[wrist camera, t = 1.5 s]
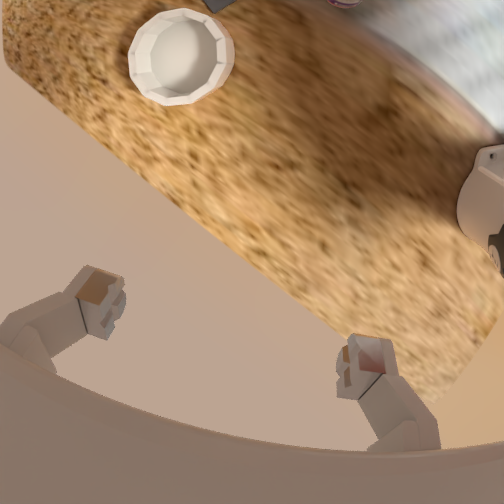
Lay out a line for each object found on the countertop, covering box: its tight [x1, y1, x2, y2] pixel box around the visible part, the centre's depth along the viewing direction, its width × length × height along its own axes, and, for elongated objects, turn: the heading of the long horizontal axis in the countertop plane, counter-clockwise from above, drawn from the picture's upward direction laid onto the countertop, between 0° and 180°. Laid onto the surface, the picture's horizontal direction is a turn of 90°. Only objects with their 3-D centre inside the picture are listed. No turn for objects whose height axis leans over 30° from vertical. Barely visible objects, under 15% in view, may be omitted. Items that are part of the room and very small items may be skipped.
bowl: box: [128, 8, 235, 106], centre depth 31 cm, size 12×12×5 cm
